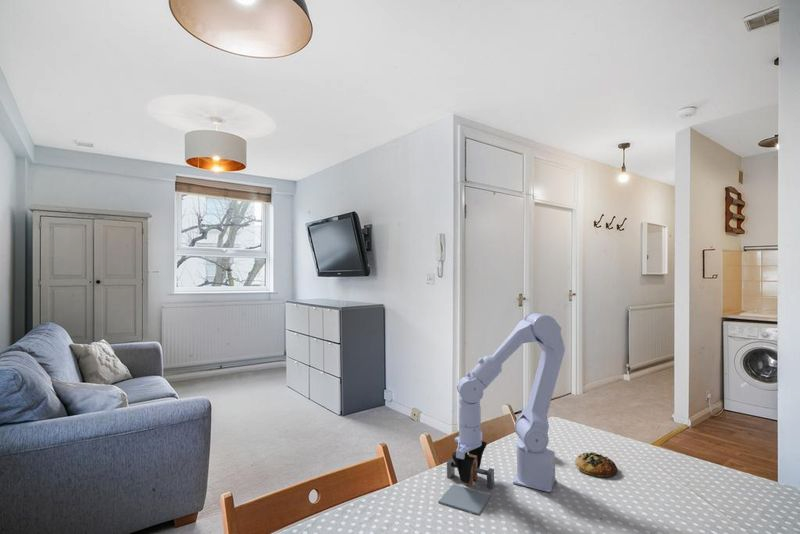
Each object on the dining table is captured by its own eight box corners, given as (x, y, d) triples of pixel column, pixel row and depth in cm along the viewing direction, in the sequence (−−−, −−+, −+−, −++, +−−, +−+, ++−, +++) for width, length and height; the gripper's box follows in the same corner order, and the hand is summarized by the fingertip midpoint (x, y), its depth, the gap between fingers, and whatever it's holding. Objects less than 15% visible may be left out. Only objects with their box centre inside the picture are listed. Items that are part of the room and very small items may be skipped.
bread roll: (627, 475, 110) (624, 456, 110) (593, 486, 107) (590, 467, 108) (598, 458, 121) (595, 442, 121) (566, 468, 118) (563, 451, 118)
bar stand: (494, 484, 105) (494, 469, 106) (491, 489, 103) (491, 473, 103) (450, 473, 112) (450, 458, 112) (447, 477, 109) (446, 462, 110)
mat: (490, 496, 100) (490, 494, 100) (478, 515, 92) (478, 513, 92) (453, 485, 105) (453, 484, 105) (438, 502, 97) (438, 501, 97)
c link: (477, 478, 109) (477, 455, 109) (471, 486, 105) (471, 462, 105) (468, 476, 110) (468, 453, 110) (462, 483, 106) (462, 460, 106)
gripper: (465, 412, 116) (465, 461, 116) (444, 430, 103) (445, 483, 103) (489, 417, 112) (489, 466, 112) (471, 435, 100) (471, 491, 100)
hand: (470, 475), depth 107 cm, fingers open, 7 cm apart
